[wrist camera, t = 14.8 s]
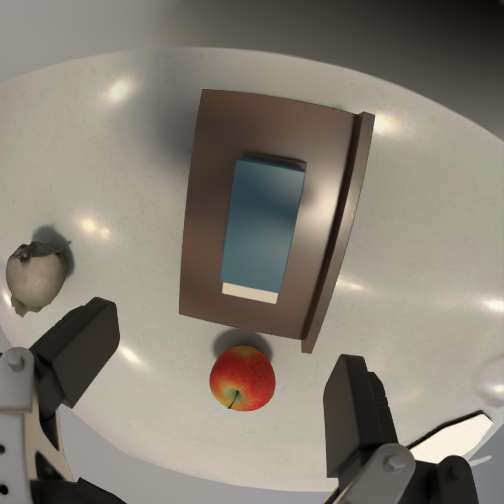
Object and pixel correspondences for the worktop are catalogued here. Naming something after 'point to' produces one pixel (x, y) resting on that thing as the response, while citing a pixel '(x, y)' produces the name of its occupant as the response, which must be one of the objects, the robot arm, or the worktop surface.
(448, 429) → the plate
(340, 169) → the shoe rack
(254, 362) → the apple
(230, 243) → the teal eraser block
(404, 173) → the worktop surface
